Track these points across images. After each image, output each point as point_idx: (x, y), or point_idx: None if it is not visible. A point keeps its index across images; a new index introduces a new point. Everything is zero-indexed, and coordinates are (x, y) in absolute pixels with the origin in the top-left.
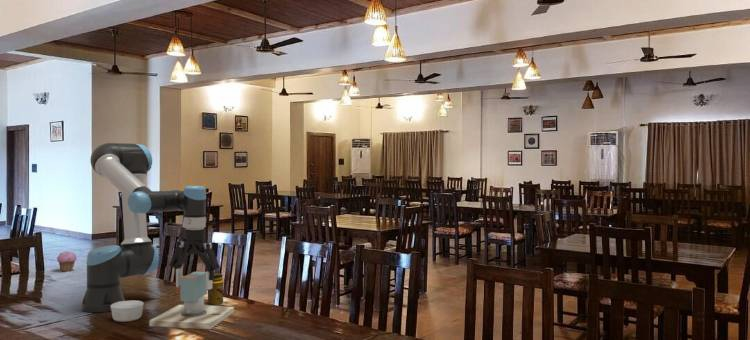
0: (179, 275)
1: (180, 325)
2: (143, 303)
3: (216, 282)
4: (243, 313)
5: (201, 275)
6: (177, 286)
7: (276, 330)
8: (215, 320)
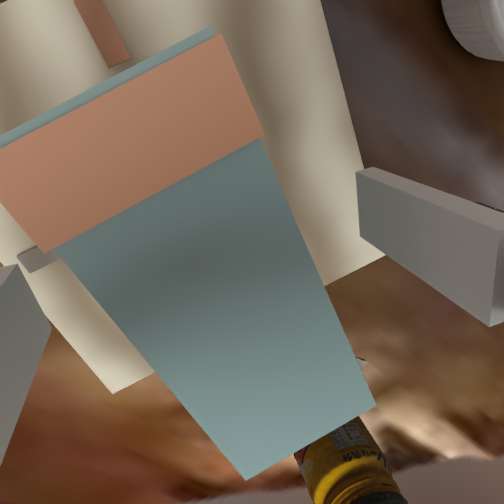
0: (424, 230)
1: None
2: (501, 31)
3: (327, 480)
4: (58, 392)
5: (158, 370)
6: (359, 171)
7: None
8: None
